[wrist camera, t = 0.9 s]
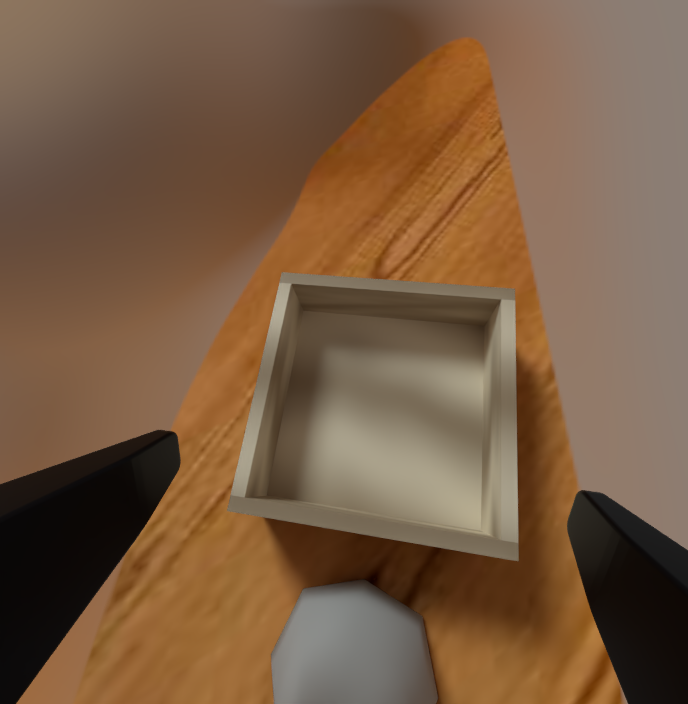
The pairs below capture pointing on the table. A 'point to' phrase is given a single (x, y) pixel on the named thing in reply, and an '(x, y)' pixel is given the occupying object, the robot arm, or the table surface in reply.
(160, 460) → the robot arm
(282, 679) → the flask
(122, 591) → the table surface
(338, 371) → the crate
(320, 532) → the table surface
